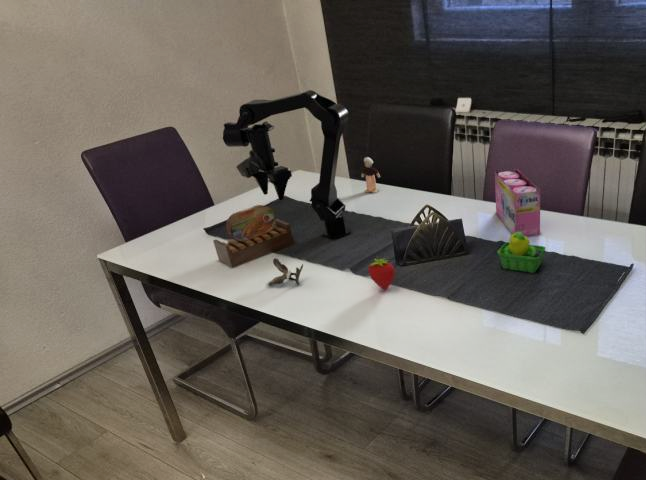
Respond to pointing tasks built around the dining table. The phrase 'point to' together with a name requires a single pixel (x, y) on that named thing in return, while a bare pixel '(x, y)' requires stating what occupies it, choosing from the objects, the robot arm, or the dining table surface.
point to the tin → (251, 222)
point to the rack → (254, 245)
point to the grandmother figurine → (370, 175)
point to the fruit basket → (521, 254)
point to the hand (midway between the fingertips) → (273, 197)
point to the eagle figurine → (285, 273)
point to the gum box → (518, 202)
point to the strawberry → (382, 273)
